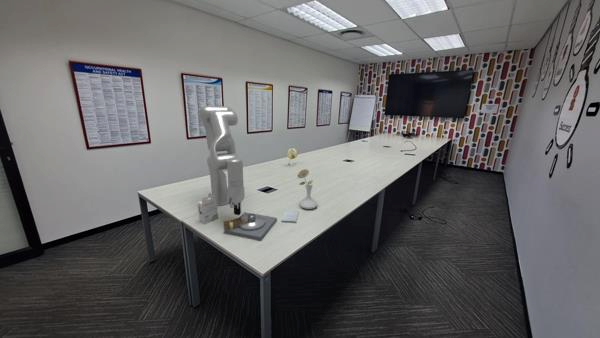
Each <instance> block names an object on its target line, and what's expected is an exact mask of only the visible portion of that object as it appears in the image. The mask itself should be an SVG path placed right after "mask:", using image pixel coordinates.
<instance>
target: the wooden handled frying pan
mask: <svg viewBox="0 0 600 338" xmlns="http://www.w3.org/2000/svg"><path fill="white" fill-rule="evenodd" d="M261 215H262V214H258V215H257V213H252V214H249V215H246V216H243V217H241V218H238V217H237V218H233V219H229V220H224V221H223V223H222V224H223V231H224V230H228V229H230V222H233V228H237V227H239V228H241V229H243V230H256V229H259V228H261V227H263V226H264V225H265V218H264V217H263V216H261Z"/></svg>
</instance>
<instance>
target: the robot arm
mask: <svg viewBox="0 0 600 338" xmlns="http://www.w3.org/2000/svg"><path fill="white" fill-rule="evenodd" d="M198 113H199V119H200V121H201V123H202V125H203V128H204V131H205V136H206V144H207V149H208V151H209V156H207V159H206V162H207V167H208V170H209V176H210V189H211V190H210V191H211V193H208V195H207V197H208V196H211V195H214V194H215V196H216V202H217V207H218V206H219V207H220V206H225V205H230V206H229V207H230V208H231V209H233V214H234V215H236V216H241V215H242V209H241V208H242V202H243V200H244V199H245V198H246V197H245V196H246V195H245V185H244V169H243V168H244V165H243V164H244V163H243V159H242V157H241V156H240V155H239V154H238V153H236V143H235V140H234V138H233V136H232V132H231V129H230V127H231V126H232V127H233V126H237V124H238V123H239V119H238V115H237V113H236V111H235V110H234V109H233V108H231V107H230V106H227V105H207V106H201V107H200V108H199V112H198ZM218 152H224V153H218ZM224 170H227V171H226V172H227V174H226V173H225V172H224Z"/></svg>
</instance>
